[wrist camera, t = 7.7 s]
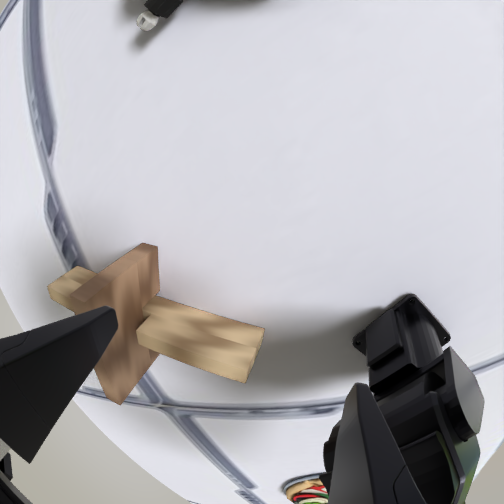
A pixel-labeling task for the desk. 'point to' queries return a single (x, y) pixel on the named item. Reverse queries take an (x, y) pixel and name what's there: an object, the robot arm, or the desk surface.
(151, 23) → the robot toy
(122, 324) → the brown tapered flat block
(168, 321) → the oak board
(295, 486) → the toy pizza
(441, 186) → the desk surface
